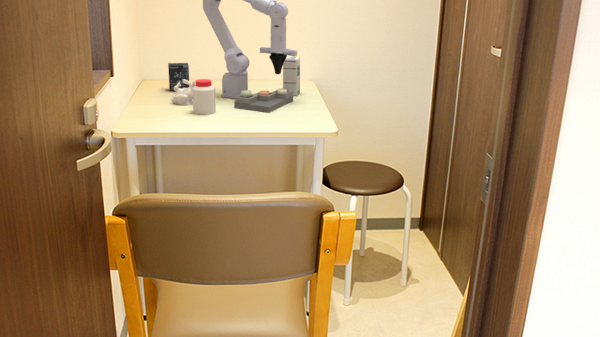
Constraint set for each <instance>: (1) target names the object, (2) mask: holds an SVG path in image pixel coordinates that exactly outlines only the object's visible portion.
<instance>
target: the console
mask: <svg viewBox="0 0 600 337" xmlns="http://www.w3.org/2000/svg"><path fill="white" fill-rule="evenodd" d="M292 102H294V96H293V91H289V90H287V93H277V89H275V90H273V91H272V92H270V91H269V95H268V96H265V95H260V91H259V92H256V93H254V94H252V95H251V97H250V98H244V97H241V95H238V96H236V97H235V98H234V102H233V103H234V109H241V110H248V111H255V112H262V113H268V114H269V113H271V112H273V111H275V110H277V109H280V108H281V107H283V106H286V105H288V104H289V103H290V104H291V103H292Z"/></svg>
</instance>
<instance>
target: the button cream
mask: <svg viewBox="0 0 600 337" xmlns="http://www.w3.org/2000/svg"><path fill="white" fill-rule="evenodd" d="M276 90H277V93H287V89H283V88H278V89H276Z"/></svg>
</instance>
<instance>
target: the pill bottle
mask: <svg viewBox="0 0 600 337" xmlns="http://www.w3.org/2000/svg"><path fill="white" fill-rule="evenodd" d="M194 81H195V83H196V85H195V86H194V87H193V88H192V91H193V100H192V101H193V104H192V111H193V114H196V115H202V116H203V115H212V114H213V115H214V114H215V113H216V112H217V110H216V106H217V105H216V87H215V86H214V85H213V84H212V82H213V81H212V80H211V79H209V78H200V79H199V78H198V79H196V80H194Z"/></svg>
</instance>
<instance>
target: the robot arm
mask: <svg viewBox="0 0 600 337" xmlns="http://www.w3.org/2000/svg"><path fill="white" fill-rule="evenodd" d="M242 1H243V2H245V3H249V4H250V6H251V8H252V9H253V10H256V11H257V12H259V13H262V14H264V15H266V16H269V18H270V47H263V46H262V47H259V54H270V55H269V59H270V61H271V64H272V66H273V69H274V72H275V73H274V74H275V75H280V74H282V71H283V63H284V61H285V59H286V57H290V56H293V57H298V49H297V50H295V49H290V48H289V49H288V48H287V16H288V15H289V9H288V7H287V5H286V4H285V3H283V2H278V0H242ZM221 2H222V0H202V10H203V12H204V15H205V16H206V18H207V20H208V21H209V24H210V26H211V28H212V30H213V31H214V34H215V36H216V38H217V41H218V42H219V44H220V45H221V48H222V50H223V52H224V60H225V61H224V62H225V63H226V64H225V65H226V70H227V72H225V73H224V74H223V75H222V79H221V88H222V90H221V93H222V95H220V96H221V97H222V98H228V99H229V98H231V99H235V97H236V96H238V95H241V91H243V90H248V87H249V85H248V83H249V82H248V81H249V79H248V77H249V76H248V70H247V69H249V66H250V59H249V58H248V56H247V55H246V54H244V52H243V51H242V50H243V49H241V48H240V47H239V46H238V45H237V43H236V41H235V39H234V37H233V35H232V33H231V32H230V29H229V27H228V25H227V23H226V21H225V19H224V17H223V15H222V13H221V11H220V9H219V7H220V6H221V5H220V4H221ZM251 95H253V94H252V93H251Z"/></svg>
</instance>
